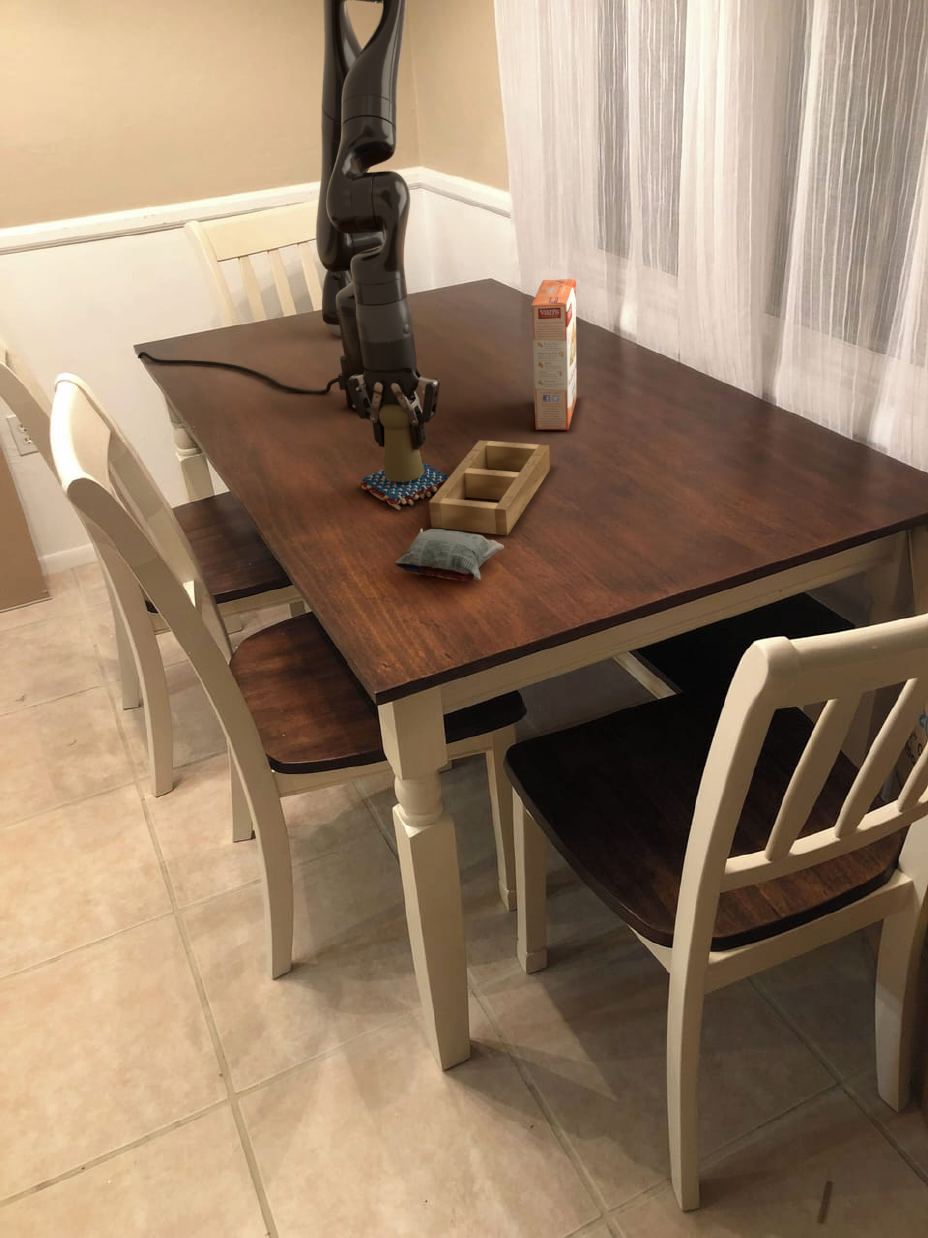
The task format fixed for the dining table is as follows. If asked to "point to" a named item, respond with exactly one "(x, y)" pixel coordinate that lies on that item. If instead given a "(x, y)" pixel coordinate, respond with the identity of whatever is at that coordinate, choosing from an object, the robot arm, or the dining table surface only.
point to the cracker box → (554, 353)
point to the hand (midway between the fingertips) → (400, 445)
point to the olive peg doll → (399, 445)
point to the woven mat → (404, 486)
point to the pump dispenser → (333, 298)
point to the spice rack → (490, 487)
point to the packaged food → (448, 554)
